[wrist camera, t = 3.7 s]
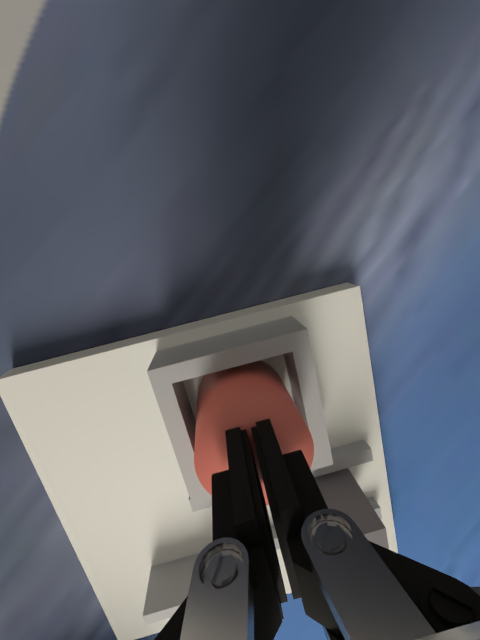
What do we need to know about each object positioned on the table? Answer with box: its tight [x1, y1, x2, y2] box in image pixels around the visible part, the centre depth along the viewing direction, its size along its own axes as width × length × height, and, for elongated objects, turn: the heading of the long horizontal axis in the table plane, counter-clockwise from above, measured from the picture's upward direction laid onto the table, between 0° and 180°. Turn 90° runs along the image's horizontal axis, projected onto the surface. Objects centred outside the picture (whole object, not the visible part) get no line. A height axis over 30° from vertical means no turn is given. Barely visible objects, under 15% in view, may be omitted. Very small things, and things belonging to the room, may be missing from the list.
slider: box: [314, 468, 389, 549], centre depth 16 cm, size 2×2×4 cm
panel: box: [0, 282, 398, 640], centre depth 17 cm, size 18×18×4 cm
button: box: [194, 360, 314, 506], centre depth 14 cm, size 4×4×4 cm
